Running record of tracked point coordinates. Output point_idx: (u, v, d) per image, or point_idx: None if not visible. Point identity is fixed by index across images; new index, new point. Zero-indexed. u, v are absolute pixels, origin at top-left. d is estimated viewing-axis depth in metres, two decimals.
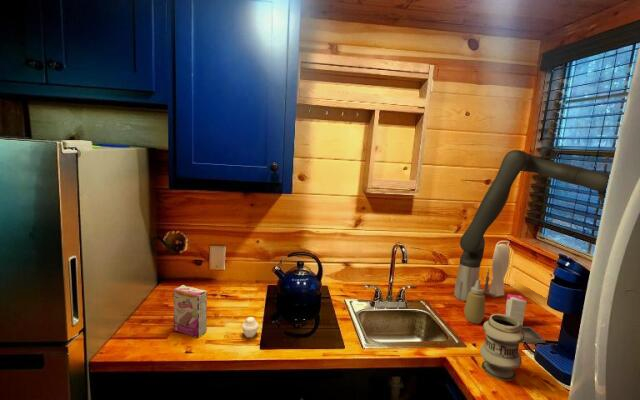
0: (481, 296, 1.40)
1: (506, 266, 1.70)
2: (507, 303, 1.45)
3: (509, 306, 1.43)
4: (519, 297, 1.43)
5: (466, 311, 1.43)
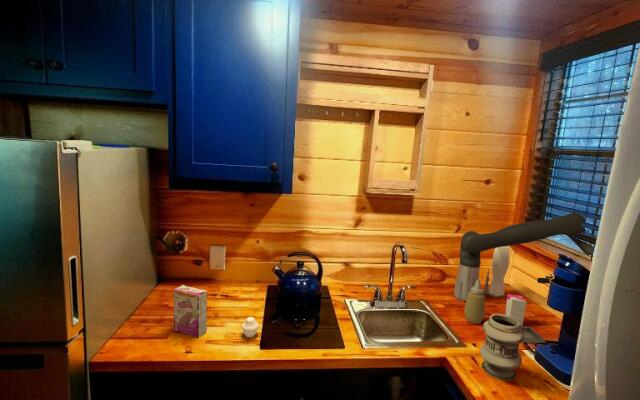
0: (481, 296, 1.40)
1: (506, 266, 1.70)
2: (507, 303, 1.45)
3: (509, 306, 1.43)
4: (519, 297, 1.43)
5: (466, 311, 1.43)
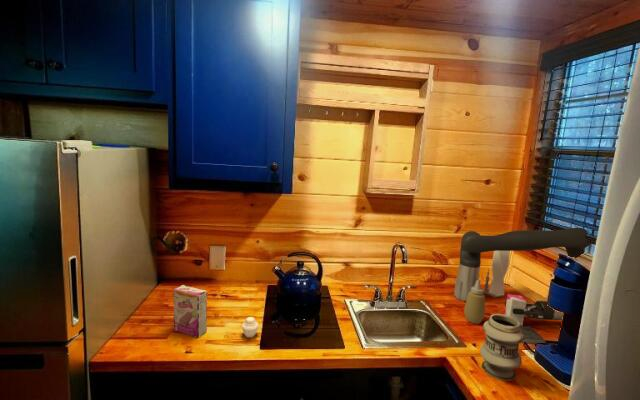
0: (481, 296, 1.40)
1: (506, 266, 1.70)
2: (507, 303, 1.45)
3: (509, 306, 1.43)
4: (519, 297, 1.43)
5: (466, 311, 1.43)
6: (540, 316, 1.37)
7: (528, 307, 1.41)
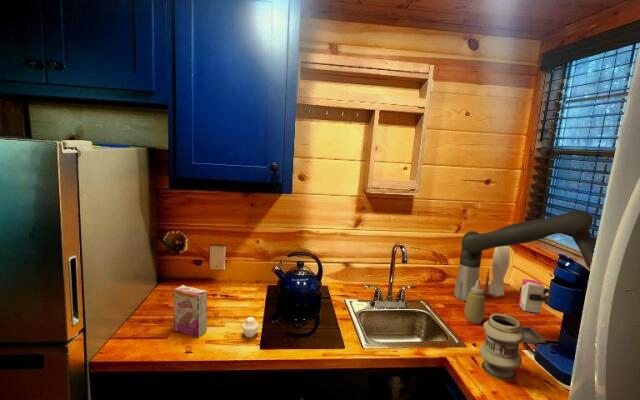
0: (481, 296, 1.40)
1: (506, 266, 1.70)
2: (522, 289, 1.33)
3: (525, 292, 1.31)
4: (536, 282, 1.31)
5: (466, 311, 1.43)
6: None
7: (546, 293, 1.29)
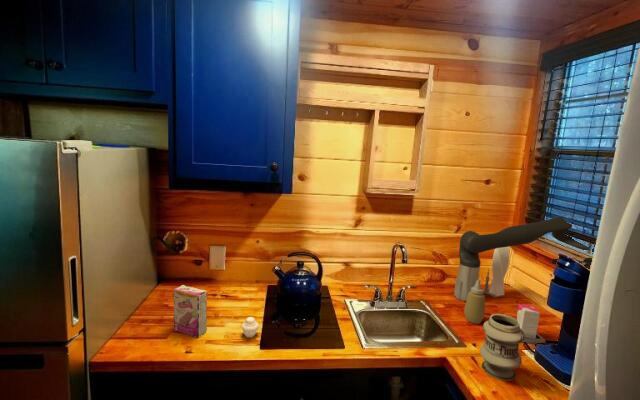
0: (481, 296, 1.40)
1: (506, 266, 1.70)
2: (518, 314, 1.35)
3: (521, 318, 1.32)
4: (531, 308, 1.33)
5: (466, 311, 1.43)
6: None
7: None
